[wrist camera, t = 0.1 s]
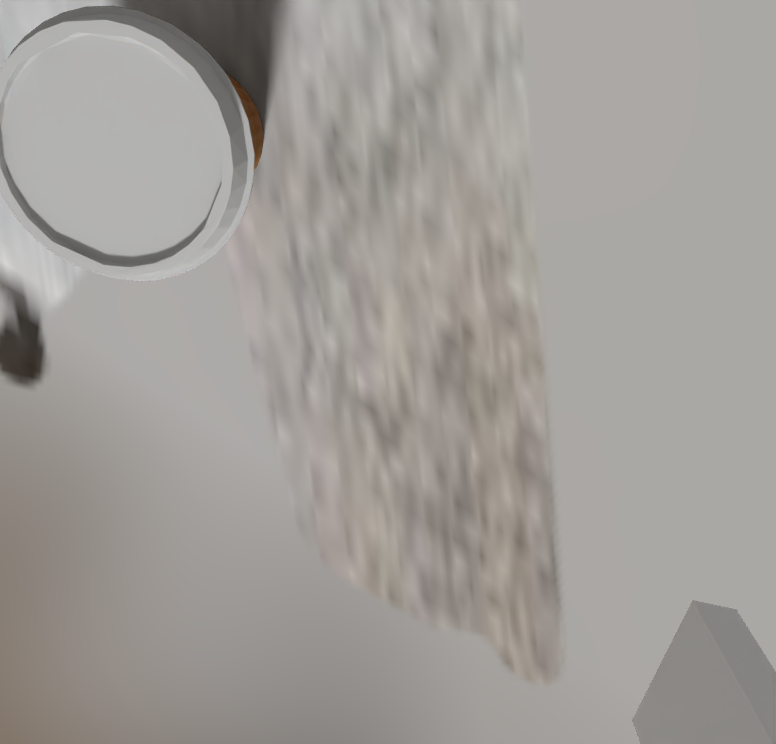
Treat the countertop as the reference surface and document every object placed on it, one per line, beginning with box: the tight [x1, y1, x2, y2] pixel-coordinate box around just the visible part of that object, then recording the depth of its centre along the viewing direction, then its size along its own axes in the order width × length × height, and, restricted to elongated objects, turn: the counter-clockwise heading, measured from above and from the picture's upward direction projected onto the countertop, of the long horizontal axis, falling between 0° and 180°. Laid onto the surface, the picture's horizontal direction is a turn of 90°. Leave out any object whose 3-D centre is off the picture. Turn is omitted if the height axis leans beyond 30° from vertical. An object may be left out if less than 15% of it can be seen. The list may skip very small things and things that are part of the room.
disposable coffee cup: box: [0, 6, 263, 281], centre depth 30 cm, size 10×10×12 cm
